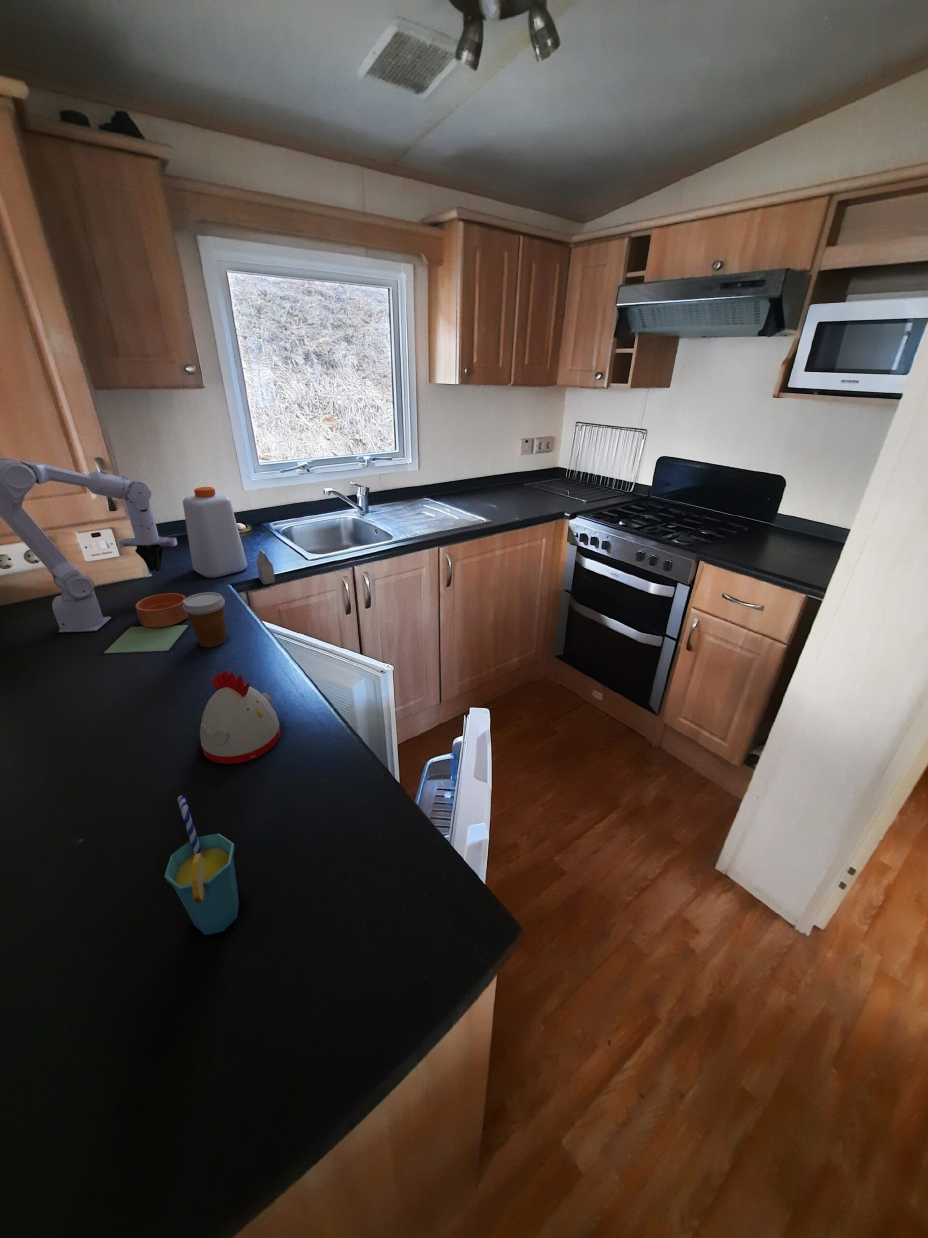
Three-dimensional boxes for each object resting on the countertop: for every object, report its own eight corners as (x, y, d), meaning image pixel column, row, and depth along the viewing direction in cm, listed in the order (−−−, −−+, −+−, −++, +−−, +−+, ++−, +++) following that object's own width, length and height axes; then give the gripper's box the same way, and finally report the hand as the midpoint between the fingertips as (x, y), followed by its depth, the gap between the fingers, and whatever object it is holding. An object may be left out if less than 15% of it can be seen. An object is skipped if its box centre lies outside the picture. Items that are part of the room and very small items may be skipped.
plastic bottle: (252, 569, 177) (238, 488, 164) (209, 581, 167) (190, 495, 154) (231, 559, 186) (216, 481, 173) (189, 569, 176) (170, 488, 163)
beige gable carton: (263, 584, 165) (258, 555, 160) (259, 577, 170) (254, 549, 166) (275, 582, 167) (270, 553, 162) (270, 575, 172) (265, 547, 167)
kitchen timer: (245, 771, 89) (229, 701, 82) (185, 752, 93) (165, 684, 86) (295, 725, 101) (284, 660, 94) (239, 709, 105) (225, 647, 98)
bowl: (132, 630, 135) (127, 611, 133) (152, 611, 146) (147, 593, 144) (180, 628, 136) (175, 609, 134) (196, 609, 147) (192, 592, 145)
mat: (103, 653, 124) (103, 652, 124) (130, 627, 137) (130, 626, 137) (167, 650, 126) (167, 650, 126) (188, 625, 138) (188, 624, 138)
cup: (173, 886, 69) (144, 806, 63) (232, 857, 74) (211, 779, 67) (195, 974, 59) (163, 890, 53) (262, 935, 64) (241, 852, 57)
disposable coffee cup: (217, 652, 126) (207, 608, 120) (184, 648, 127) (172, 605, 122) (240, 634, 134) (231, 593, 129) (208, 631, 136) (198, 589, 130)
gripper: (176, 519, 145) (187, 564, 151) (122, 520, 143) (135, 565, 149) (166, 526, 139) (178, 573, 145) (110, 527, 137) (124, 574, 143)
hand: (155, 569), depth 147 cm, fingers closed
